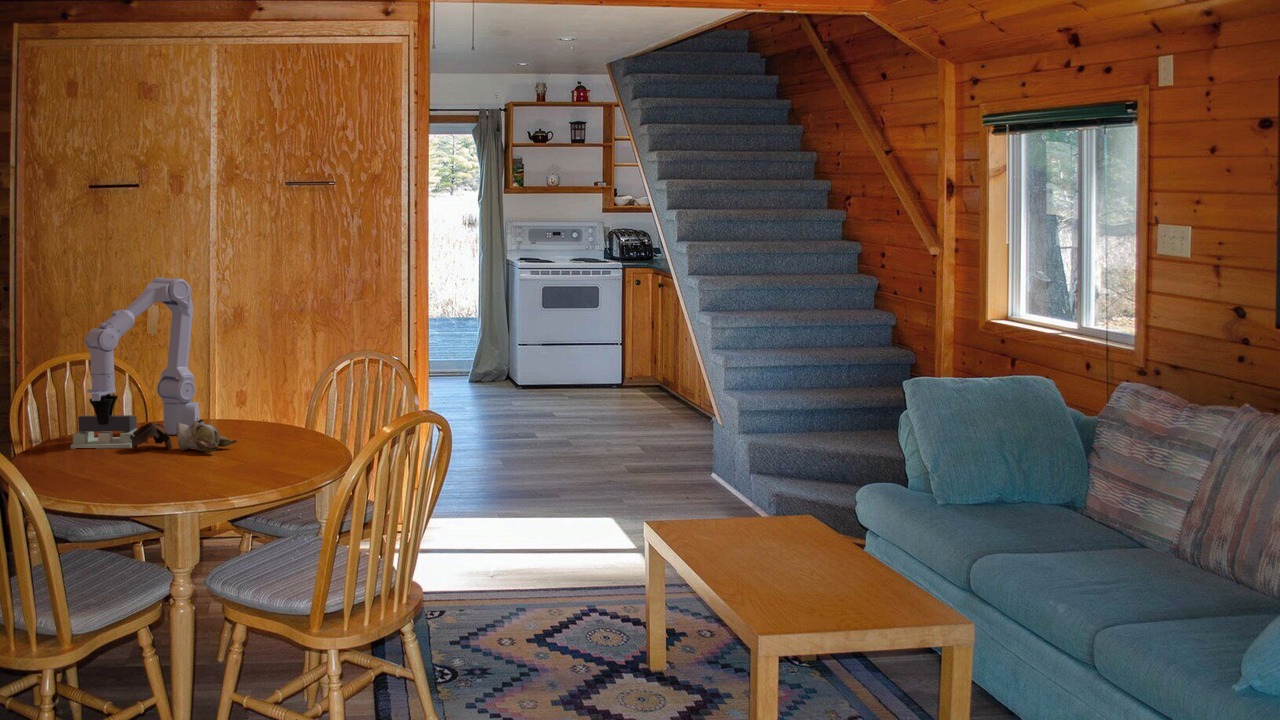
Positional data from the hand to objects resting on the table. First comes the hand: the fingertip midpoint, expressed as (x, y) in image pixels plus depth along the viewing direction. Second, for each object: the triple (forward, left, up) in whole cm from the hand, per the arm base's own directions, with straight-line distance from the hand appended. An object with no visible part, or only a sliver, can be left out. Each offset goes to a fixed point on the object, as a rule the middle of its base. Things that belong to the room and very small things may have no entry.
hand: (104, 423), depth 330 cm
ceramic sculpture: (-27, +9, -6) cm, 29 cm away
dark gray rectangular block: (0, -3, -2) cm, 3 cm away
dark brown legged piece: (-14, +6, -6) cm, 16 cm away
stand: (0, 0, -6) cm, 6 cm away
